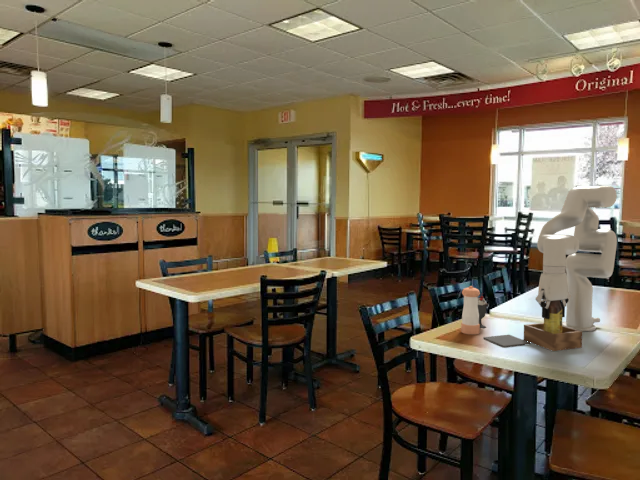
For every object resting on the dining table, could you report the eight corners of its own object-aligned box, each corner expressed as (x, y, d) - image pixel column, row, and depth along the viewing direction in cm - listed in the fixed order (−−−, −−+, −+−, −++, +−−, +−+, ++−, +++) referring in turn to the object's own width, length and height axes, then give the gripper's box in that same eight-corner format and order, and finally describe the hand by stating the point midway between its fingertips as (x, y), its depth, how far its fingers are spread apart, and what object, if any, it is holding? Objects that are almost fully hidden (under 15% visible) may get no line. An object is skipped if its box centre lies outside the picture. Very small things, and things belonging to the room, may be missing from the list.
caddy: (550, 336, 189) (551, 322, 189) (581, 347, 175) (582, 331, 175) (523, 340, 185) (523, 324, 185) (553, 351, 171) (553, 334, 171)
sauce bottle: (564, 342, 177) (565, 289, 175) (546, 341, 178) (546, 289, 176) (559, 337, 183) (560, 285, 181) (541, 336, 185) (542, 285, 183)
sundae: (483, 329, 201) (483, 294, 200) (468, 326, 206) (469, 292, 205) (491, 326, 206) (491, 292, 204) (477, 324, 211) (477, 290, 209)
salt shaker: (460, 333, 195) (460, 287, 194) (461, 329, 202) (462, 284, 201) (479, 335, 193) (479, 288, 191) (480, 330, 200) (480, 285, 198)
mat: (509, 336, 191) (509, 334, 191) (530, 344, 180) (530, 342, 180) (483, 338, 188) (483, 337, 188) (503, 347, 176) (503, 345, 176)
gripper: (564, 267, 184) (563, 313, 186) (527, 270, 179) (527, 317, 181) (580, 269, 177) (579, 317, 179) (542, 273, 172) (541, 322, 174)
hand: (553, 316), depth 180 cm, fingers closed on sauce bottle, 6 cm apart
